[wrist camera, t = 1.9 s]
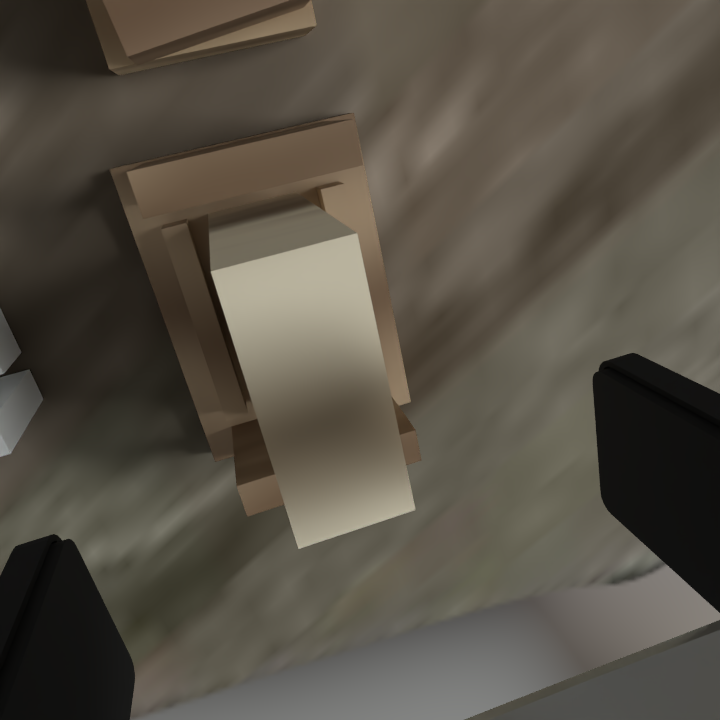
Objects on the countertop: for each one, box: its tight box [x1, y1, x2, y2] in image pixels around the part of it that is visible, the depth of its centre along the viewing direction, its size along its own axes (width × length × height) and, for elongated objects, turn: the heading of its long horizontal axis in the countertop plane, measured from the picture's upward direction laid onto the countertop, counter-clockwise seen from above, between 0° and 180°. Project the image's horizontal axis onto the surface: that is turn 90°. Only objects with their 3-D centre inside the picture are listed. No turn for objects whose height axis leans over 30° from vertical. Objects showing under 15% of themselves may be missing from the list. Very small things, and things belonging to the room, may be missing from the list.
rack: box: [110, 113, 421, 516], centre depth 20 cm, size 11×8×5 cm
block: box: [208, 192, 415, 549], centre depth 17 cm, size 7×3×9 cm, turn 12°
